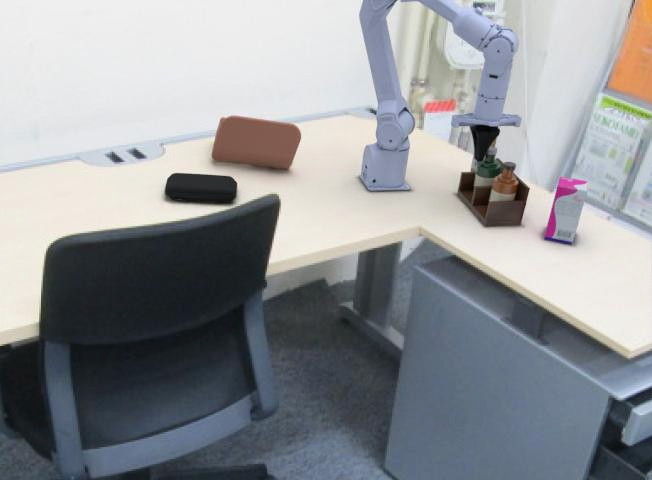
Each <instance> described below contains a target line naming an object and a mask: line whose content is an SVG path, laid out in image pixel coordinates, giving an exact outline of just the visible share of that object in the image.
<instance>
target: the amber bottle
mask: <svg viewBox="0 0 652 480" xmlns="http://www.w3.org/2000/svg"><path fill="white" fill-rule="evenodd" d="M503 163H504V165H503V173H501V174H499V175H498V176H496V177H495V178H494V181H493V185H492V189H491V193H490V198H489V201H514V200H515V196H516V191H517V187H518V183H519V182H518V180H516V177H515V176H514V175H513V174H514V173H515V170H516V168H517V164H516V163H515V162H512V161H504V162H503ZM488 204H489V203H488ZM487 208H488V207H487Z"/></svg>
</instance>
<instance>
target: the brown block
mask: <svg viewBox="0 0 652 480" xmlns="http://www.w3.org/2000/svg"><path fill="white" fill-rule="evenodd" d="M301 140H302V131H301V130H300V128H299V126H297V125H296V124H294V123H290V122H283V121H277V120H269V119H262V118H255V117H249V116H242V115H241V116H240V115H228V116H226V117H224V116H223V117H220V119H219V121H218V125H217V129H216V132H215V137H214V141H213V146H212V150H211V158H212V160H214V161H216V162H223V163H231V164H240V165H248V166H257V167H265V168H266V167H267V168H274V169H283V170H288V169H290V168H291V166H292V164H293V162H294V159H295V158H296V157H295V156H296V153H297V151H298V148H299V145H300V143H301Z"/></svg>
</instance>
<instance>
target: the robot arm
mask: <svg viewBox="0 0 652 480" xmlns="http://www.w3.org/2000/svg"><path fill="white" fill-rule="evenodd" d="M398 1H399V0H362V2H361V6H360V10H359V13H358V18H359V24H360V28H361V32H362V36H363V41H364V46H365V51H366V55H367V60H368V64H369V65H368V66H369V69H370V74H371V77H372V83H373V88H374V92H375V96H376V100H377V107H376V113H375V119H376V129H375V138H376V142H374V143H371V144H366V145H365V146H364V148H363V153H362V154H363V155H362V161H361V162H362V163H361V170H360V174H359V178H360V180H361V182H362V183H363V184H364V186H365V188H366V189H367V190H368V191H370V192H374V191H375V192H377V191H378V192H380V191H381V192H382V191H409V190H411V186H409V185H408V183H407V182H406V180H405V179H406V174H407V167H408V161H409V155H410V149H411V143H410V139H409V136H410V135H411V134H412V133H413V132H414V130H415V128H416V118H415V116H414V114H413V113H412V111H411V110H410V108H409V105H408V101H407V100H406V99H405V97H404V96H403V95H402V89H401V85H400V80H399V75H398V69H397V65H396V61H395V60H396V59H395V55H394V51H393V45H392V40H391V36H390V31H389V30H390V29H389V26H388V21H387V17H388V15H389V14H390V12H391V11H392V9H393V7H394V6H395V4H396V3H397V2H398ZM410 2H418V3H420V4H421V5H423V6H424V7H426V8H427V9H429V10H431V11H432V12H433V13H435V14H437V15H438V16H440V17H441V18H443V19H445V20H446V21H447V22H449V23H451V26H452V31H453V34H455V35H456V36H457V37H458V38H459V39H461V40H463V41H464V42H465V43H467V44H468V45H469V46H471V47H472V48H474V49H475V50H477V51H478V52H481V53H482V55H483V59H484V63H483V68H482V69H481V73H480V78H479V84H478V88H477V94H476V99H475V105H474V108H473V112H467V113H461V114H452V115H451V120H450V125H451V126H452V127H453V128H454V129H458V128H459V127H469V130H470V132H471V133H470V134H471V137H472V142H473V154H474V159H475V160H476V161H477V162H482V161H483V159H484V157H485V155H486V153H487V151H488V149H489V147H490V146H491V144H492V143H493V141H494V140H495V139H496V138H498V137H499V136H500V133H501V129H499V128H498V126H500V127H515V128H520V127H521V124H522V119H523V117H522V116H520V115H519V114H509V113H504V108H505V103H506V98H507V95H508V90H509V85H510V81H511V76H512V69H513V62H514V59H513V58H514V56H515V55H516V54H517V53H518V49H519V42H520V41H519V38H518V36H517V34H516V33H515V32H514V31H513V29H512V28H510V27H504V25H503V24H501V23H500V22H499V23H496V22H494V21H493V20H492V19H491V18H489V17H487V16H486V15H485V14H483V12H484V9H482V8H481V7H479V6H477V8H475V7H473V6H472V5H471V6H467V7H462V6H461V5H460V4H459V3H457V2H456V1H454V0H400V3H410Z"/></svg>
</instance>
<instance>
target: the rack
mask: <svg viewBox="0 0 652 480" xmlns="http://www.w3.org/2000/svg"><path fill="white" fill-rule="evenodd" d="M495 159H496V160H497V161H498V163H500V165H501V168H500V174H501V173H503V165H504V162H503V161H502V160H501V159H500V158H498V157H495ZM475 173H476V172H470V171H461V173H460V178H459V182H458V188H457V192H456V196H458V197H459V199H460V200H461V201H462V202H463V203H464V204H465V205H466V206H467V208H468V209H469V210H470V211H471V212H472V213H473V214H474V216H475V217H476V218H477V219H478V220H479V222H481V224H482V225H483V226H484V227H508V226H509V227H510V226H521V225H522V221H523V218H524V214H525V210H526V206H527V201H528V197H529V195H530V194H529V193H530V190H531V188H530V186H528V184H526V183H525V182H524V181H523V180H522V179H521V178H520V177H519V176H518V175H517V174H516V173H515V172H514V174H513V175H514V176H515V177H516V180H518V182H519V183H518V187H517V191H516V196H515V200H514V201H489V198H490V193H491V189H492V186H475V187H474V180H475ZM473 188H474V192H473ZM488 203H489V204H488ZM487 207H488V208H487Z"/></svg>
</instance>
